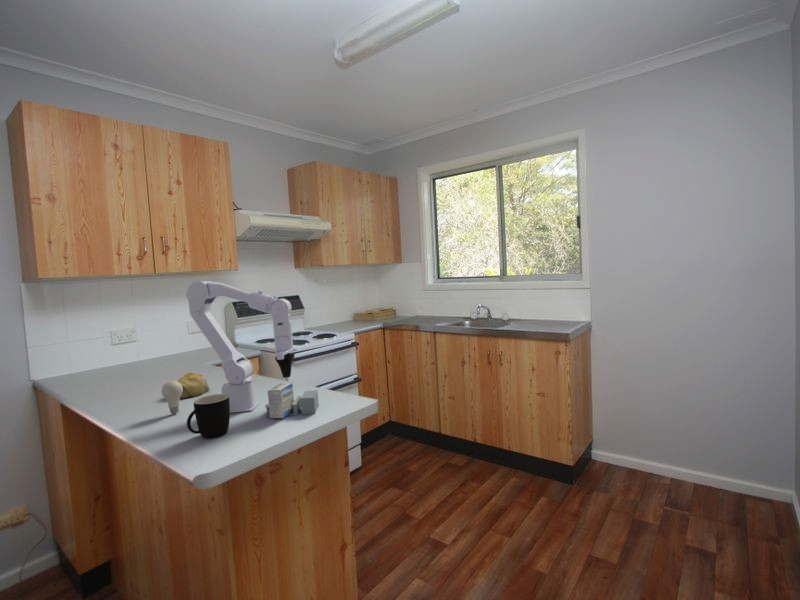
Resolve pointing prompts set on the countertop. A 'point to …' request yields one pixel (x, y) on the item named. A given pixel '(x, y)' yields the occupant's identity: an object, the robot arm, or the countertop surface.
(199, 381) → the pastry
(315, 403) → the dispenser
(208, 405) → the mug
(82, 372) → the countertop surface
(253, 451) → the countertop surface
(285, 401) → the medicine box
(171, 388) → the lightbulb
